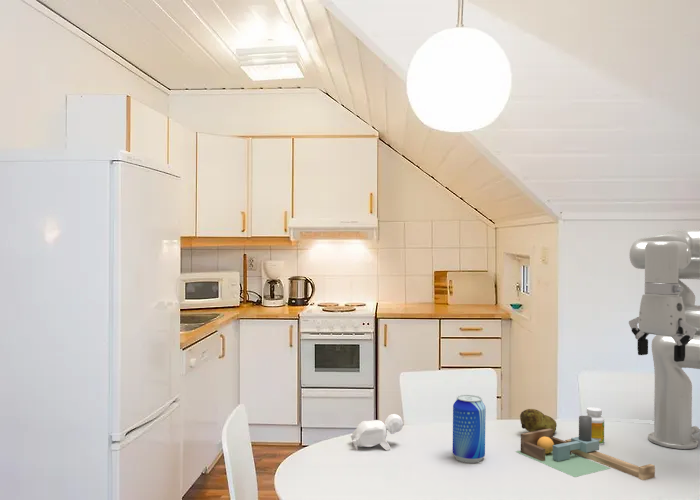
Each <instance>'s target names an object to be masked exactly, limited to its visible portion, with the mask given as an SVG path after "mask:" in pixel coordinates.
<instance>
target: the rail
mask: <svg viewBox="0 0 700 500" xmlns="http://www.w3.org/2000/svg"><path fill="white" fill-rule="evenodd" d="M564 441H566V442H571V438H569V439H565V440H564ZM572 454H575V455H578V456H580V457H583V458H585V459H588V460H591V461H593V462H596V463H598V464H601V465H604V466H606V467H609V468H612V469H615V470H617V471H619V472H622V473H625V474H627V475H630V476H632V477H635V478H638V479H639V480H642V481H646V480H647V481H648V480H649V479H654V478H656V475H655V474H656V466H655V464H652V463H649V464H645V465H641V466H639V465H635V464H633V463H630V462H627V461H624V460H622V459H619V458H616V457H615V456H611V455H609V454H606V453H603V452H601V451H599V450H597V451H592V452H587V453H586V452H583V451H580V450H578V449H576V450H572Z"/></svg>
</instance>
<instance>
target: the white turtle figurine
mask: <svg viewBox="0 0 700 500" xmlns="http://www.w3.org/2000/svg"><path fill="white" fill-rule="evenodd" d="M384 421H385V423H384V422H383V421H382V420H380V419H373V420H363V421H361V422H359V423H358V425H357V427H356V428H355V430H354V431H353V432H352V433H350V435H349V436H350V438H351V440H352V444H353V445H354V448H355V450H356V451H358V447H360V448H363V447H364V448H365V447H367V448H371V447H375V446H377V445H380V446H381V447H382V448H383V449H385V450H386V451H388V452H389V451H391V449H392V448H391V446H390V444H389V442H388V441H387V440H386V439H387V436H388V434H387V433H388V432H389V434H391V435H393V434H395V433H398V432H401V431H402V429H403V427H404V422H403V419H402V417H401V416H400V415H398V414H397V413H392V414H389V415H388V416H387V417H386V418H385V420H384Z"/></svg>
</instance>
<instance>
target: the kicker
mask: <svg viewBox="0 0 700 500" xmlns="http://www.w3.org/2000/svg"><path fill="white" fill-rule="evenodd" d="M570 439H571V442H568V443H562V444H557V445H553V459H554V460H556V461H562V460H566V459H570V451H571V450H576V449H578V450H580V451H583V452H586V453H587V452H592V451H600V445H599V441H598V440H595V439H592V418H591V417H589V416H586V415H579V416H578V436H576V437H571V438H570Z"/></svg>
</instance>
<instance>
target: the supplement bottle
mask: <svg viewBox="0 0 700 500" xmlns="http://www.w3.org/2000/svg"><path fill="white" fill-rule="evenodd" d="M602 412H603V410H602V409H601V408H599V407H593V406H592V407H591V406H590V407H587V408H586V415H585V416H589V417H591V418H592V439H595V440H598V441H599V446H603V445H604V444H605V419H604V417H603V416H602V414H603V413H602Z"/></svg>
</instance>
